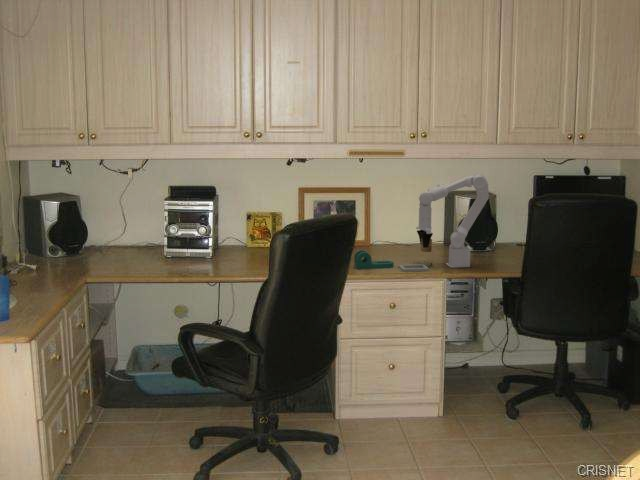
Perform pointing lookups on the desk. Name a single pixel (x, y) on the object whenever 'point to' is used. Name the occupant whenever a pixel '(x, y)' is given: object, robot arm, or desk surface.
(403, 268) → the slot board
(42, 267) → the desk surface
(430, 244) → the walnut block
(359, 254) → the bracket
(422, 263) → the green pad
